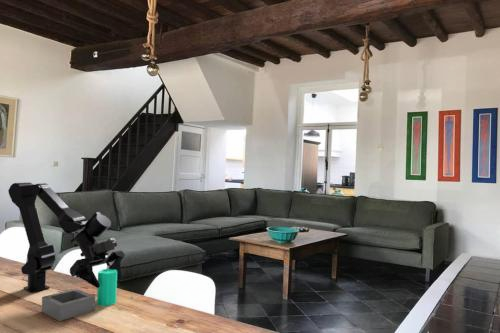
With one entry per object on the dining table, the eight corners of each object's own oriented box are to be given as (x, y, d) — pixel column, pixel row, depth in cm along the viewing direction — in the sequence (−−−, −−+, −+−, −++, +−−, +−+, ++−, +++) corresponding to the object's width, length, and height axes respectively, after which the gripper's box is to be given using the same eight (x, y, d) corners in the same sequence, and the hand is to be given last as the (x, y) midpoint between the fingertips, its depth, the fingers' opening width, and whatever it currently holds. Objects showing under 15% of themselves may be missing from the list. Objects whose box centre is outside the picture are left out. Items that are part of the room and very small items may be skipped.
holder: (41, 311, 119) (42, 296, 119) (75, 302, 127) (76, 288, 127) (59, 321, 112) (60, 305, 112) (94, 310, 121) (94, 296, 121)
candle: (109, 306, 125) (111, 269, 124) (93, 304, 126) (94, 268, 126) (119, 300, 130) (120, 265, 130) (103, 298, 132) (104, 263, 132)
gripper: (76, 235, 122) (99, 275, 116) (122, 227, 138) (144, 263, 133) (60, 256, 126) (81, 296, 120) (106, 246, 142) (126, 281, 137)
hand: (110, 283), depth 127 cm, fingers open, 9 cm apart
